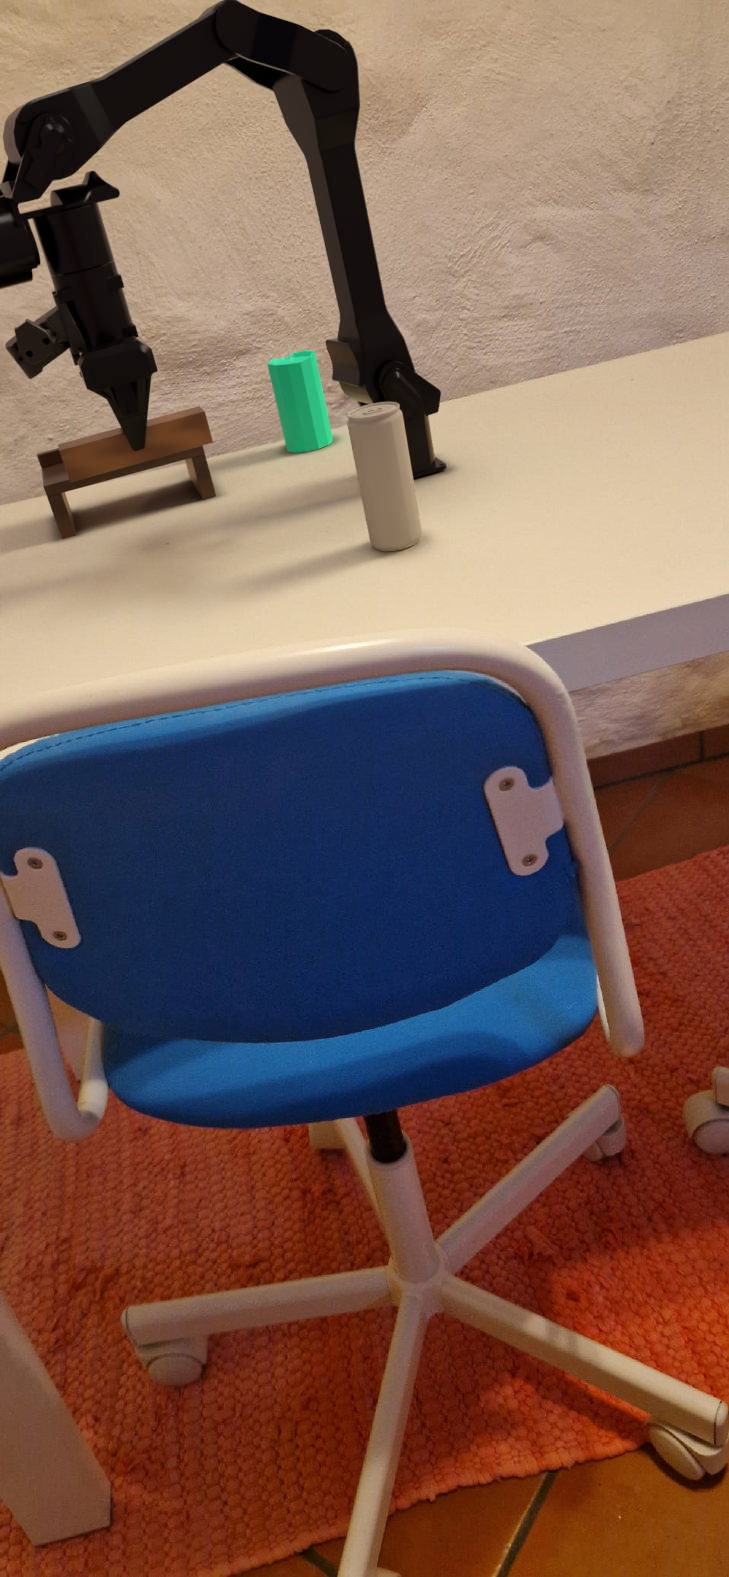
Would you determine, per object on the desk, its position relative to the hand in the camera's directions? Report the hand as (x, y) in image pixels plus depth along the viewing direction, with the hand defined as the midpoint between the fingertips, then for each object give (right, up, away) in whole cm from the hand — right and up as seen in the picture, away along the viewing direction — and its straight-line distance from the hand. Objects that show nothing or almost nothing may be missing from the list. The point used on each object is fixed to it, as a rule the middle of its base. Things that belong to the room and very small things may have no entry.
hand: (137, 446), depth 101 cm
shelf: (-5, 0, +23) cm, 24 cm away
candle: (+15, +10, +31) cm, 36 cm away
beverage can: (+25, -10, -4) cm, 27 cm away
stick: (0, -1, +1) cm, 1 cm away
